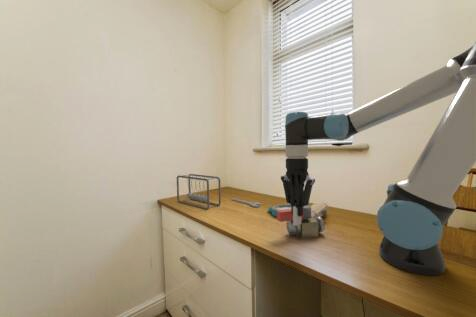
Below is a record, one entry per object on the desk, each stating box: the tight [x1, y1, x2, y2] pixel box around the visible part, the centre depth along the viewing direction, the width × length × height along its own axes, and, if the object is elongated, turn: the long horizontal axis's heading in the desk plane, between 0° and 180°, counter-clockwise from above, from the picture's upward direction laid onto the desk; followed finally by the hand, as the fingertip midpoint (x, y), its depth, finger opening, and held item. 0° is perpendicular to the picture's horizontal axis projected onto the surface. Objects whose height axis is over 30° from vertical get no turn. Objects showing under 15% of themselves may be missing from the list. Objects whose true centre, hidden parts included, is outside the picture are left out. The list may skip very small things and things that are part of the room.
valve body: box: [285, 216, 326, 240], centre depth 82 cm, size 13×7×7 cm, turn 103°
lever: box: [276, 205, 311, 223], centre depth 80 cm, size 14×4×4 cm, turn 108°
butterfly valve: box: [268, 201, 328, 218], centre depth 104 cm, size 27×7×30 cm
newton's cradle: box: [176, 173, 222, 210], centre depth 128 cm, size 30×10×18 cm, turn 51°
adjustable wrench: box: [230, 197, 262, 209], centre depth 130 cm, size 25×6×2 cm, turn 39°
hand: (297, 224), depth 72 cm, fingers closed
